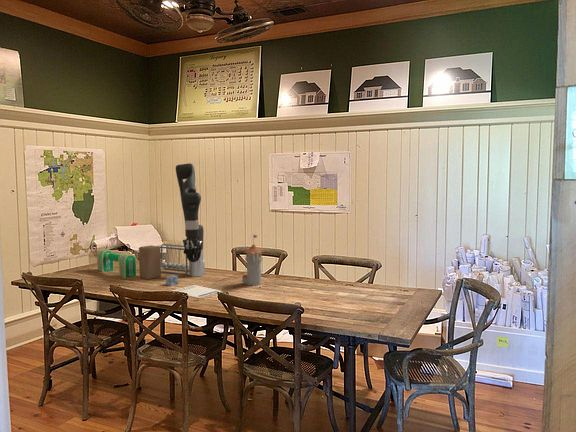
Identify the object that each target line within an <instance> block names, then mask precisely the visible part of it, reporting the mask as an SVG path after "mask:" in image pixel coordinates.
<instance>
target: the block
mask: <svg viewBox="0 0 576 432" xmlns="http://www.w3.org/2000/svg"><path fill="white" fill-rule="evenodd" d="M138 258H139V259H138V260H139V261H138V262H139V263H138V264H139V278H141V279H145V280H152V279H157V278H160V277H161V276H162V272H161V271H162V267H161V248H160V247H159V245H145V246H140V247H138Z"/></svg>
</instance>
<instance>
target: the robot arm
mask: <svg viewBox="0 0 576 432" xmlns="http://www.w3.org/2000/svg"><path fill="white" fill-rule="evenodd" d="M175 173H176V174H175V175H176V179H177V183H178V187H179V192H180V193H179V194H180V201H181V207H182V212H183V216H184V217H183V218H184V226H185V227H184V228H185V229H184V230H185V231H184V232H185V233H184V235H185V237H186V238H185V239H183V240H182V243H183V246H184V248H185V250H186V249H190V248H193V250H194V255H193V259H197V258H198V252H199V251H201V256H200V258H199V260H198V261H196V262H190V261H189V260H188V270H189V272H188V274H189V277H203V276H205V275H206V273H205V271H206V270H205V269H206V266H205V265H206V264H205V259H204V226H203V225H202V224H200V223H199V209H200V205H201V202H202V195H201V193H199V192H197V188H196V170H195V167H194V165H193V164H192V163H191V162H190V163H182V164H176V166H175ZM186 246H187V248H186ZM194 246H196V247H194ZM201 247H202V248H201ZM195 248H196V249H195Z"/></svg>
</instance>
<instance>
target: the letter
mask: <svg viewBox="0 0 576 432" xmlns="http://www.w3.org/2000/svg"><path fill="white" fill-rule="evenodd" d="M171 291H179V292H185V293H187V294H188V295H187V296H189V297H192V298H196V299H200V298H205V297H207V296H211V295H214V294H218V293H217V292H219V293H222V292H223V291H222V290H219V289H216V288H215V289H214V288H210V287H206V286H201V285H196V284H193V285H188V286H185V287H181V288H176V289H173V290H171Z"/></svg>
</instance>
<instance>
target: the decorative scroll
mask: <svg viewBox="0 0 576 432" xmlns="http://www.w3.org/2000/svg"><path fill="white" fill-rule="evenodd" d="M96 262H97V266H96V267H97V271H98V272H102V273H105V272H111V271H115V262H117V263H118V277H121V278H124V279H128V278H133V277H137V276H138V274H137V272H138V271H137V269H138V267H137V257H136V256H135V254H131V253H125V252H124V253H122V254H119V253H115V252H113V250H111V249H106V248H100V249H99V250H98V251H97V253H96Z"/></svg>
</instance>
